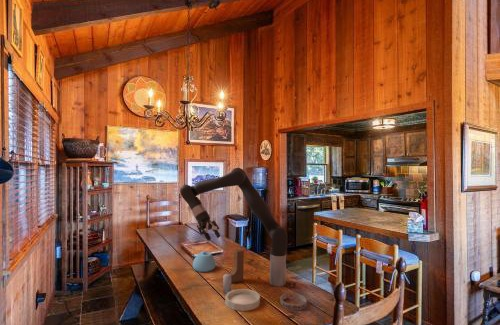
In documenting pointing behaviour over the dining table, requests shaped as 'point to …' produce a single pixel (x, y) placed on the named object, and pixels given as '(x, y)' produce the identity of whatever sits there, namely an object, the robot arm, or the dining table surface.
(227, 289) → the grey peg
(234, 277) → the wooden block
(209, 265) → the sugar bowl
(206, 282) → the dining table surface
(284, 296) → the bracelet
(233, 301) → the round tray
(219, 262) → the dining table surface
